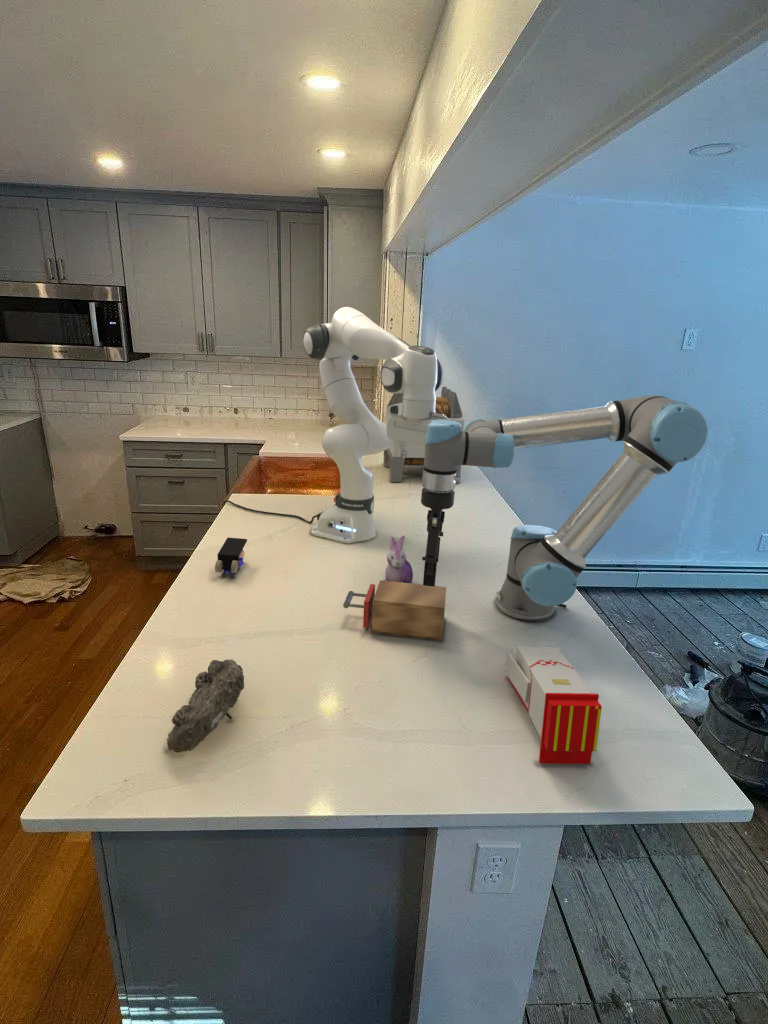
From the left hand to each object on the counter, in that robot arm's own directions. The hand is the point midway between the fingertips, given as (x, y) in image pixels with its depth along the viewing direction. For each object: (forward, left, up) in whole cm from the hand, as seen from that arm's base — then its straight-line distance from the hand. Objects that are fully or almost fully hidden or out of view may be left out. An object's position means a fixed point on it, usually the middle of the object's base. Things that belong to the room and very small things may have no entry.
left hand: (416, 460), depth 155 cm
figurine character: (-51, -13, -36) cm, 63 cm away
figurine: (-2, -6, -36) cm, 36 cm away
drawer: (+1, -26, -35) cm, 44 cm away
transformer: (-22, +113, -36) cm, 120 cm away
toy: (+39, -49, -36) cm, 72 cm away
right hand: (+11, -25, -21) cm, 34 cm away
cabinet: (+6, -26, -36) cm, 45 cm away
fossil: (-21, -71, -36) cm, 82 cm away
